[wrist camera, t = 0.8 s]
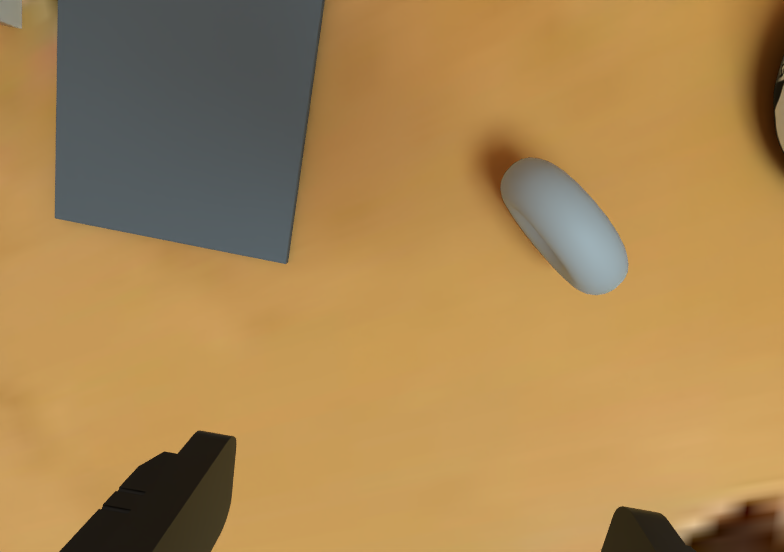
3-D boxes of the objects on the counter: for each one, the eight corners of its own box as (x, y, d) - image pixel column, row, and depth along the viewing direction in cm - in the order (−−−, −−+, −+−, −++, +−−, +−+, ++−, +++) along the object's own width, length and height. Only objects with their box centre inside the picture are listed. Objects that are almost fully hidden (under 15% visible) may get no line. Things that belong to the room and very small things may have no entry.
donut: (478, 180, 32) (507, 183, 23) (517, 149, 32) (563, 138, 22) (558, 283, 34) (617, 328, 24) (596, 255, 33) (673, 289, 24)
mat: (65, -75, 30) (59, -80, 29) (327, -23, 30) (326, -27, 29) (60, 217, 34) (54, 218, 34) (287, 262, 34) (285, 263, 34)
